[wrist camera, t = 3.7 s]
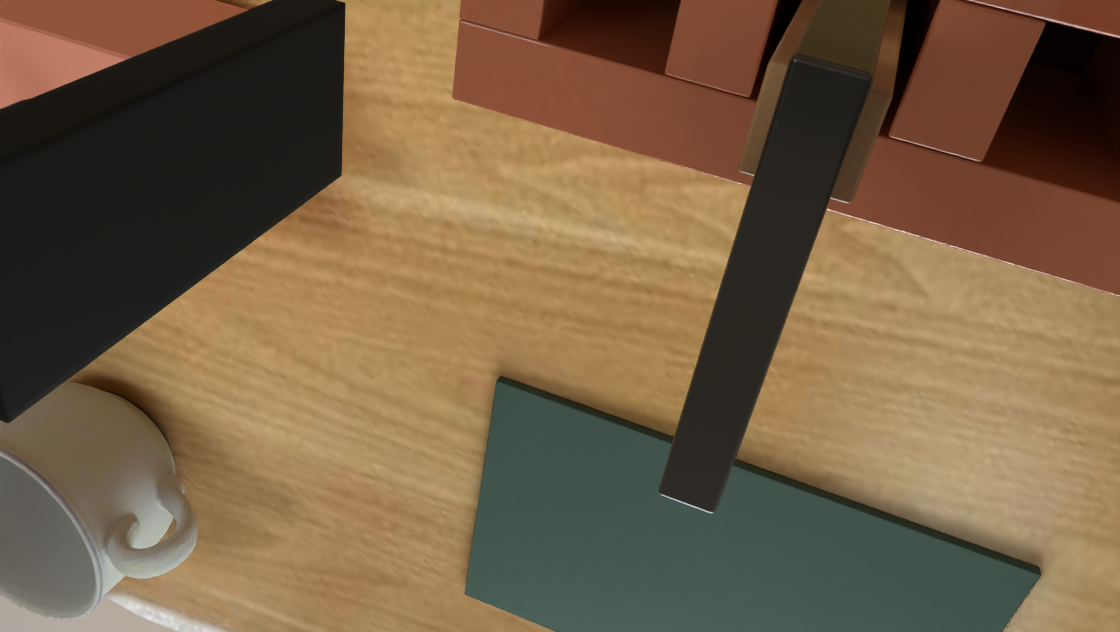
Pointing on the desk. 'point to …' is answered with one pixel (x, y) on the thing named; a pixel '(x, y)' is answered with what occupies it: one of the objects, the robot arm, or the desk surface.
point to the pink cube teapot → (88, 37)
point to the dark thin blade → (783, 217)
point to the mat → (702, 542)
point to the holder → (907, 130)
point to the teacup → (86, 501)
